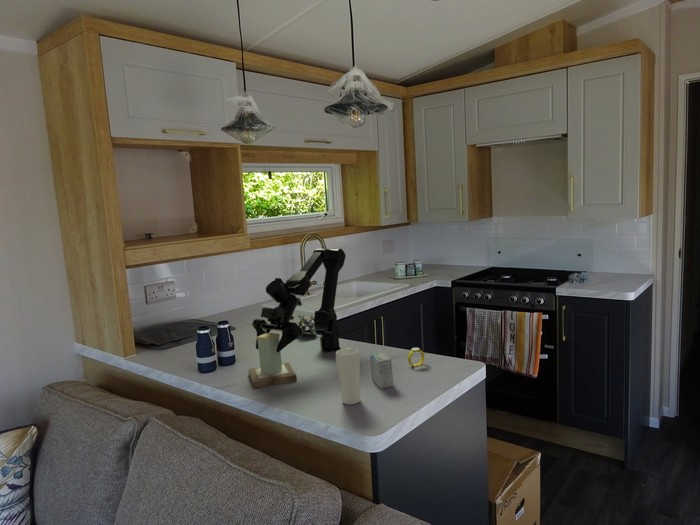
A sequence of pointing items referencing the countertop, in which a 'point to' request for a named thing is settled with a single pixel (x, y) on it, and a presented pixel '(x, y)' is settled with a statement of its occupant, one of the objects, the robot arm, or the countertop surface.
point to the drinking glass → (349, 374)
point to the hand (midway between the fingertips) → (266, 350)
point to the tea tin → (269, 353)
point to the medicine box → (381, 370)
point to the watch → (411, 355)
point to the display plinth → (272, 376)
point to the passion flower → (307, 324)
